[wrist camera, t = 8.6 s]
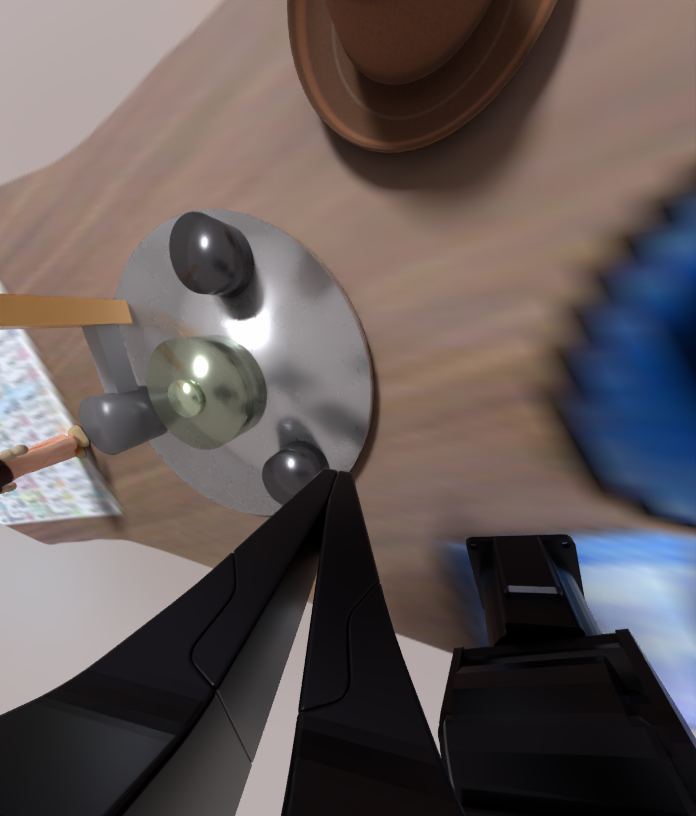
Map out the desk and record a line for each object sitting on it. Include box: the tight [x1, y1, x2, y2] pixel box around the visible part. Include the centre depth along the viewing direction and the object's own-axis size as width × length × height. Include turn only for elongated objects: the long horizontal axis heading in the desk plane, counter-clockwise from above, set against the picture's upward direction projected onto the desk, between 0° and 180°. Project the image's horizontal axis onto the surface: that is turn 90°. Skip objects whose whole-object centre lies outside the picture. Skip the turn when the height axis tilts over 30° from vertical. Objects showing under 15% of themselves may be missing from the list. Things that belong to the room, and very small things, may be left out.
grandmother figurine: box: [0, 425, 90, 494], centre depth 28 cm, size 8×4×13 cm, turn 149°
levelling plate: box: [115, 209, 374, 515], centre depth 21 cm, size 24×24×5 cm
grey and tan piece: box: [0, 294, 168, 455], centre depth 21 cm, size 12×5×8 cm, turn 6°
